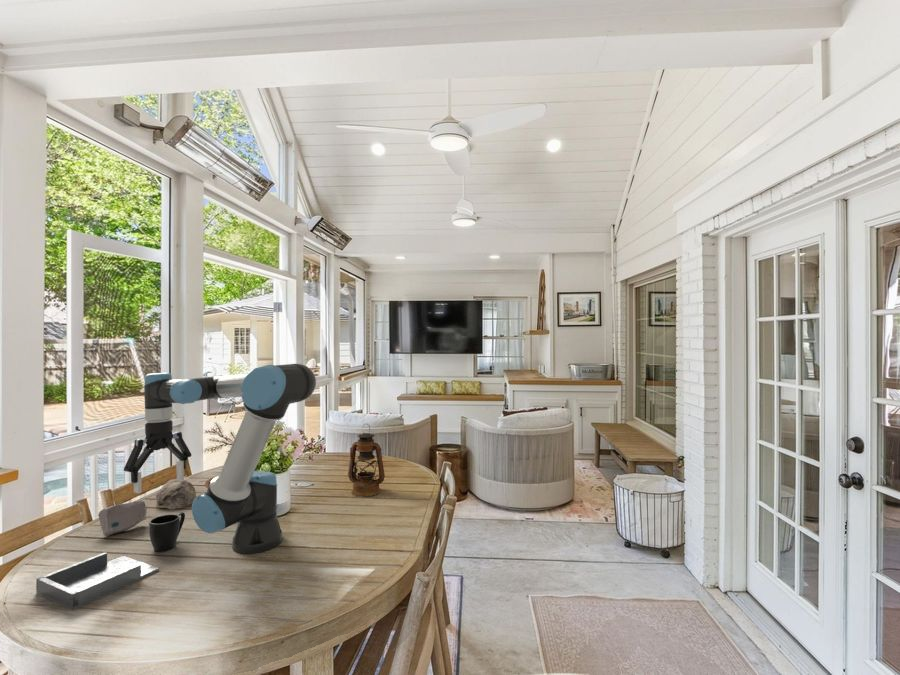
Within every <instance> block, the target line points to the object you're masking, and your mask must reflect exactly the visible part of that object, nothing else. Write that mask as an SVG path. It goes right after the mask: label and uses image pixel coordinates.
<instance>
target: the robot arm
mask: <svg viewBox="0 0 900 675" xmlns="http://www.w3.org/2000/svg"><path fill="white" fill-rule="evenodd" d="M316 385H317V379H316V375H315V373H314V371H313V370H312V369H311V368H310V367H308V366H306V365H304V364H302V363H288V364H276V365H275V364H274V365H273V364H266V365H262V366H257V367H255V368H253V369H251V370H250V371H248V373H241V374H228V375H215V376H207V377H206V376H205V377H194V378H184V379H177V378H176V379H173V376H172V373H170V372H156V373H155V372H154V373H147V374H146V375H145V376H144V384H143V388H144V389H143V391H144V421H146V422H145V423H144V433H145V438H141V439H140V438H136V439H135V440H134V445H133V448H132V450H131V453H130V455H129V457H128V459H127V461H126V463H125V465H124V467H123V472H127V473H130V482H131V484H133V493H136V494H141V493H143V492H142V490H143V487H142V486H143V485H142V482H143V481H142V471H140V470H141V468H142V467H143V466H144V464H145V463H146V461H147V460H148V458H149V457H150V456H151V454H153V453H154V451H159V450H164V449H168V451H170V453H172V454H173V455H174V456H175V457H176V458H177V460H176V461H175V465H176V468H175V469H176V479H177V480H180V481H183V480H185V470H186V466H187V465H186V464H187V462H186V461H189V460H188V459H189V458H190V457H192V452H191V451H190V449H189V447H188V446H187V443H186V442H185V441H184V439H183V433H182V432H181V431H174V432H173V429H174V427H173V426H174V425H173V420H172V419H173V404H181V405H187V404H194V403H195V402H198V401H199V402H200V401H204V400H206V401H207V400H213V399H214V400H215V399H224V398H225V399H226V398H241V400H242V402H243V404H242V405H243V407H244V409H245V410H246V411H245V413H244V415H243V418H242V420H241V423H240V425H239V428H238V430H237V433H236V434H235V438H234V439H233V442H232V444H231V447H230V449H229V452H228V453H227V456H226V459H225V461H224V463H223V465H222V468H221V471H220V473H219V476H218V475H216V476H217V477H215V476H214V477H215V478H213V479H212V481H211V482H210V485H209V487H208V488H206V489H207V490H206V491H205V492H204V493H200V494H198V495H196V498H195V499H194V501H193V504H192V505H191V513H192V517H193V520H194V523H195V524H196V526H197V527H198V528H199V530H201V531H202V532H205V533H207V534H214V533H216V532H217V533H218V532H219V531H221V532H222V531H223V530H224V529H227V528H228V527H230V526H233V525H235V524H237V525H236V528H235V532H234V536H233V537H232V541H231V543H232V544H231V545H232V546H231V547H232V550H233V551H234V552H236V553H239V554H247V555H248V554H257V553H258V554H259V553H262V552H266V551H268V550H271V549H274V548H276V547H278V546H279V545H280V544H281V543H282V541H283V531H282V529H281V525H280V522H279V520H278V516H277V512H278V511H277V509H278V507H277V506H278V502H277V501H278V494H277V493H278V484H277V483H278V482H277V476H276V474H275V473H274V472H271V471H267V470H266V471H264V470H256V469H257V465H258V463H259V461H260V458H261V457H262V454H263V452H264V449H265V448H266V446H267V442H268V440H269V438H270V435H271V434H272V431H273V429H274V426H275V424H276V421H279V420H281V419H282V418H284V416H286V413H287V410H288V408H289V406H290V405H291V404H295V403H299V402H303V401H305V400H308V398H309V397H311V396H312V394H313V393H314V391H315V389H316V387H317V386H316ZM173 439H174V441H175V443H176V444H177V446H178V448H179V449H178V448H177V446H176V445H175V443H173V442H172V440H173ZM145 444H146V445H145ZM143 446H145V447H143Z"/></svg>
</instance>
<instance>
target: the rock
mask: <svg viewBox="0 0 900 675" xmlns="http://www.w3.org/2000/svg"><path fill="white" fill-rule="evenodd" d="M155 496H156V499H155V500H156V504H155V508H161V509H164V508H166V509H168V510H169V509H170V510H176V509H181V508H182V509H183V508H184V507H188V506H192V504H193V501H194V499H195V498H196V497H197V491H196V488H195V486H194V485H193V483H192V482H190V481H188V480H186V479H184V480H183V481H180V480H177V478H172V479H169V480H168V481H166V482H165V483H164V484H163V485H162V487H161V488H160V489H159V490H158V492H157V494H156V495H155Z"/></svg>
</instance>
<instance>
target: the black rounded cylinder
mask: <svg viewBox="0 0 900 675" xmlns="http://www.w3.org/2000/svg"><path fill="white" fill-rule="evenodd" d="M185 517H186V513H185V512H179V513H177V514H176V513H175V514H172V513H171V514H163V515H159V516H156V517H153V518H152V519H150V521H149V523H148V526H149V528H148V529H149V531H148V532H149V538H150V539H149V540H150V542H151V545H152V549H153V551H154V552H156V553H163V552H168V551H171V550H172V549H174V548H175V547H176V544H177V540H178V537H179V535H180V533H181V530H182V528H183V525H184V522H185V519H186V518H185Z"/></svg>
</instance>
